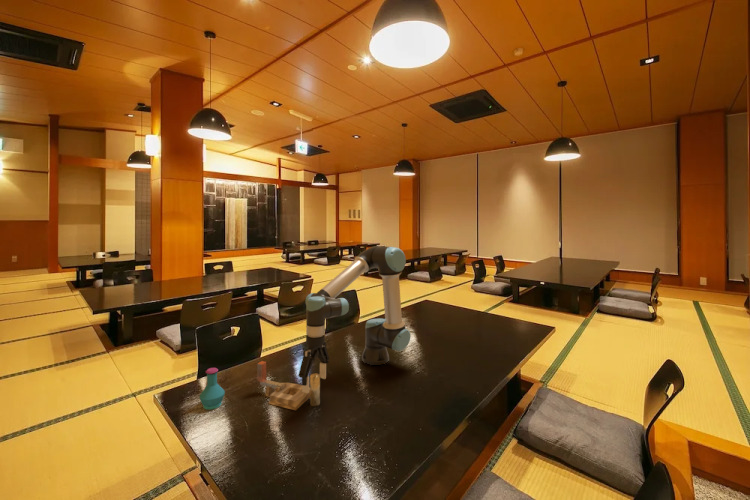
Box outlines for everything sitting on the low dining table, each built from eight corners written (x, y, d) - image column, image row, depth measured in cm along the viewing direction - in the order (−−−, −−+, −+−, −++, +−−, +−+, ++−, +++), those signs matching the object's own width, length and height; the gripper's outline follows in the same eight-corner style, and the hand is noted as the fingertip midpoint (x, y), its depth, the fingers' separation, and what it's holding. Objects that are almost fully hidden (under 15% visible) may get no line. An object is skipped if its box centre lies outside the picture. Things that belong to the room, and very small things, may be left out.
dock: (312, 394, 142) (312, 383, 141) (295, 410, 129) (295, 398, 129) (277, 387, 148) (277, 376, 148) (258, 401, 136) (258, 389, 135)
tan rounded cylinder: (321, 402, 136) (321, 374, 135) (316, 406, 132) (316, 378, 132) (313, 400, 137) (313, 372, 137) (308, 404, 134) (308, 376, 133)
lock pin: (284, 387, 140) (284, 365, 140) (280, 390, 138) (280, 368, 137) (261, 381, 145) (261, 361, 144) (257, 384, 142) (257, 363, 141)
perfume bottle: (217, 396, 139) (216, 362, 138) (229, 403, 133) (229, 368, 132) (195, 406, 131) (194, 370, 130) (207, 414, 126) (206, 376, 125)
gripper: (322, 325, 146) (321, 371, 147) (289, 342, 123) (288, 397, 124) (337, 327, 143) (336, 374, 144) (306, 345, 120) (305, 401, 121)
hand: (314, 384), depth 134 cm, fingers open, 13 cm apart
